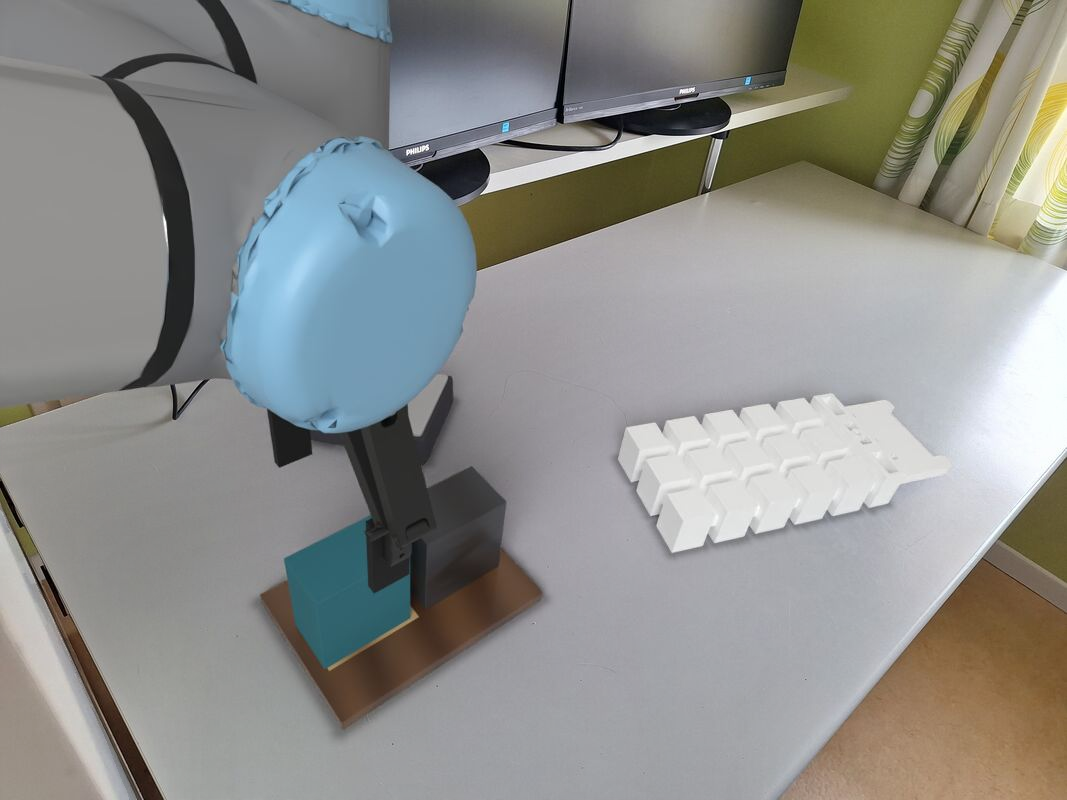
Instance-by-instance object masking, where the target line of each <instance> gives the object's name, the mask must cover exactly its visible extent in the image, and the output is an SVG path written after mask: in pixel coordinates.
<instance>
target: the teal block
mask: <svg viewBox="0 0 1067 800" xmlns="http://www.w3.org/2000/svg"><path fill="white" fill-rule="evenodd" d="M371 518H372V517H371V514H370V515H368V516H366V517H364V518H361V519H360V520H358V521H356V522H354V523H352V524H350V525H348V526H346V527H344V528H342V529H339V530H338V531H336V532H334V533H331V534H329V535H328V536H325V537H324V538H322V539H320V540H318V541H316V542H314V543H312V544H310V545H308V546H306V547H304V548H302V549H300V550H298V551H296V552H294V553H292V554H290V555H287V556H286V557H284V558H283V562H284V567H285V568H284V569H285V574H286V579H287V580H288V585H289V591H290V597H291V602H292V608H293V614H294V619H295V625H296V627H297V628H298V630H299V631H300V633H301V634H302V636H303V637H304V639H305V640H306V642H307V643H308V645H309V646H310V648H311V650H312V651H313V653H314V654H315V656H316V657H317V659H318V660H319V662H320V663H321V665H322V666H323V668H324V669H327V668H328V667H330V666H332V665H333V664H335V663H337V662H338V661H340V660H342V659H343V658H345V657H347V656H348V655H350V654H352V653H353V652H355V651H357V650H358V649H360V648H362V647H363V646H365V645H367V644H368V643H370V642H372V641H373V640H375V639H377V638H378V637H380V636H382V635H383V634H385V633H387V632H388V631H390V630H392V629H393V628H395V627H397V626H398V625H400V624H402V623H403V622H405V621H406V620H408V619H410V569H409V575H407V576H405V577H404V578H402V579H400V580H398V581H396V582H395V583H393V584H391V585H389V586H387V587H385V588H384V589H382V590H380V591H378V592H376V593H375V594H374V593H373V592H372V590H371V589H370V588H369V586H368V570H367V545H366V535H365V533H364V531H366V521H367V520H369V519H371ZM287 580H286V581H287Z"/></svg>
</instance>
